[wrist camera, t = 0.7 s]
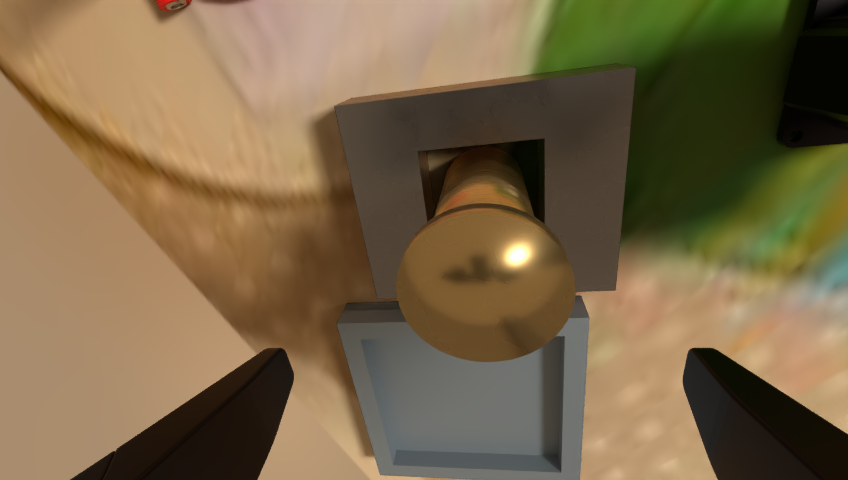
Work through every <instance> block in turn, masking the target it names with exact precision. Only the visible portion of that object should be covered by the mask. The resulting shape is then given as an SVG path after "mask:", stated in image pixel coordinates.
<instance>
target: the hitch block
mask: <svg viewBox="0 0 848 480" xmlns="http://www.w3.org/2000/svg"><path fill="white" fill-rule="evenodd" d="M635 72H636V67H631V66H626V65H621V64H609V65H601V66H593V67H586V68H578V69H570V70H563V71H555V72H547V73H540V74H532V75H524V76H517V77H509V78H501V79H494V80H486V81H479V82H471V83H463V84H456V85H448V86H440V87H433V88H425V89H417V90H410V91H402V92H394V93H387V94H379V95H371V96H364V97H356V98H351V99H348V100H346V101H344V102H342V103H340V104H338V105H335V106H334V107H335V111H336V116H337V120H338V125H339V129H340V134H341V138H342V143H343V147H344V152H345V156H346V160H347V165H348V169H349V174H350V178H351V183H352V187H353V192H354V196H355V201H356V205H357V210H358V214H359V219H360V223H361V227H362V232H363V236H364V241H365V245H366V250H367V254H368V259H369V263H370V268H371V272H372V277H373V281H374V286H375V290H376V294H377V299H383V298H397V291H396V281H397V275H398V270H399V267H400V264H401V262H402V259H403V256H404V253H405V251H406V248H407V246H408V244H409V242H410V241H411V239H412V238H413V236H414V235H415V234H416V232H417V231H418V230H419V229H420V228H421V227H422V226H423V225H424V224H425V223H427V222H428V221H429V220H431V219H432V218H433V217H434V216H435V212H434V204H433V197H432V189H431V182H430V174H429V167H428V159H427V152H426V150H435V149H445V148H454V147H464V146H474V145H484V144H494V143H503V142H513V141H523V140H533V139H538V220H540V221H541V222H543V223H544V224H545V225H546V226H547V227H548V228H549V229H550V230H552V232H553V233H554V234H555V235H556V237H557V238H558V239H559V241H560V242H561V244H562V246H563V247H564V250H565V252H566V255H567V257H568V260H569V263H570V265H571V268H572V271H573V274H574V279H575V289H576V292H585V291H614V290H616V281H617V270H618V259H619V248H620V237H621V226H622V215H623V204H624V193H625V182H626V171H627V160H628V149H629V138H630V127H631V116H632V105H633V94H634V83H635Z"/></svg>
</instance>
